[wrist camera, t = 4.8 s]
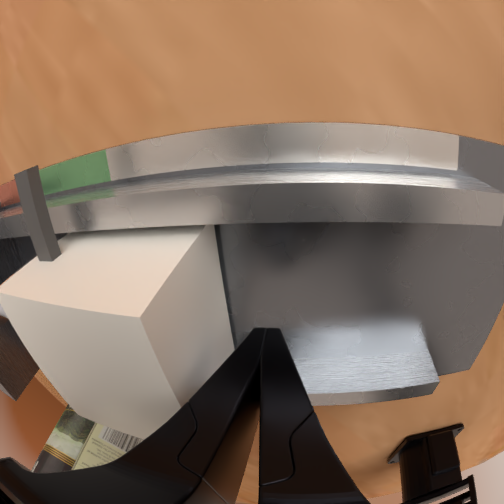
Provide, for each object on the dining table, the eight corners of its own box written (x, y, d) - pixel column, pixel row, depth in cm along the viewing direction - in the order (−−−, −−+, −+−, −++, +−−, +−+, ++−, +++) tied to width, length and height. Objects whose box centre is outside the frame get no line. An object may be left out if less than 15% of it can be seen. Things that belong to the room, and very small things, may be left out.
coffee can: (87, 413, 24) (43, 500, 12) (68, 367, 19) (-1, 481, 7) (167, 449, 24) (132, 547, 12) (171, 417, 19) (119, 557, 7)
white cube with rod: (235, 354, 12) (209, 454, 7) (30, 318, 14) (-10, 364, 10) (201, 124, 8) (92, 144, 3) (-18, 191, 10) (-76, 225, 6)
